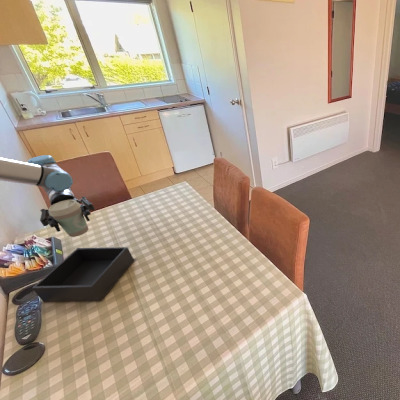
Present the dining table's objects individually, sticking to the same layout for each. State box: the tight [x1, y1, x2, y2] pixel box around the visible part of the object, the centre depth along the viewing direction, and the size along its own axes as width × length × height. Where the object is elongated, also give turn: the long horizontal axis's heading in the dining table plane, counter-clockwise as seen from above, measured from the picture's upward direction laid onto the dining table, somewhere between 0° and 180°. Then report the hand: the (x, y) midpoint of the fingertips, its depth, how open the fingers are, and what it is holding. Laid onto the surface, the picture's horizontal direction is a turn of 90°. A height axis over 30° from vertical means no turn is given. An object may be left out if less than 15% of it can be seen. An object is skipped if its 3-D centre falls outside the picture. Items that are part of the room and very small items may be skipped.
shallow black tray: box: [31, 246, 135, 303], centre depth 98 cm, size 20×20×7 cm
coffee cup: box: [48, 200, 89, 238], centre depth 96 cm, size 8×9×12 cm
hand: (72, 222), depth 93 cm, fingers closed on coffee cup, 8 cm apart
